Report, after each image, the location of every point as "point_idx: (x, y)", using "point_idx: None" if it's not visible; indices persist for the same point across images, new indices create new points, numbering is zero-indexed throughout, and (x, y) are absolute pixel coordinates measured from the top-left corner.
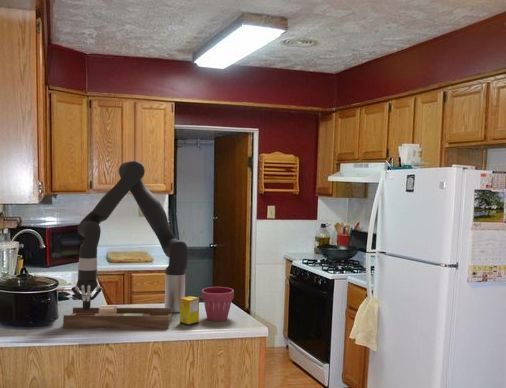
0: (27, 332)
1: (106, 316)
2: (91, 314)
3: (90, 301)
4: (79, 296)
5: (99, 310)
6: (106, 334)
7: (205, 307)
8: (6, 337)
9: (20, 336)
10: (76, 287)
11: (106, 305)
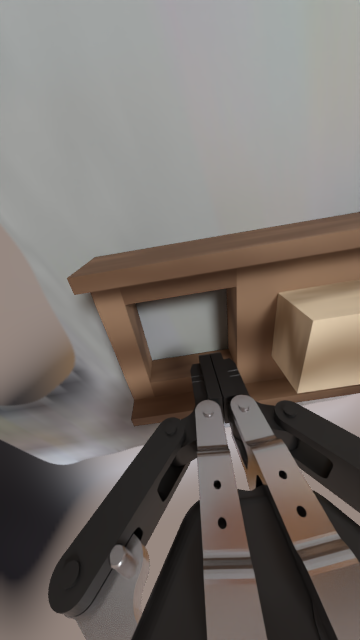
0: (61, 428)
1: (322, 396)
2: (213, 289)
3: (248, 395)
4: (178, 475)
5: (295, 384)
6: (298, 404)
7: None
8: (46, 458)
9: (73, 449)
10: (131, 612)
11: (345, 322)
